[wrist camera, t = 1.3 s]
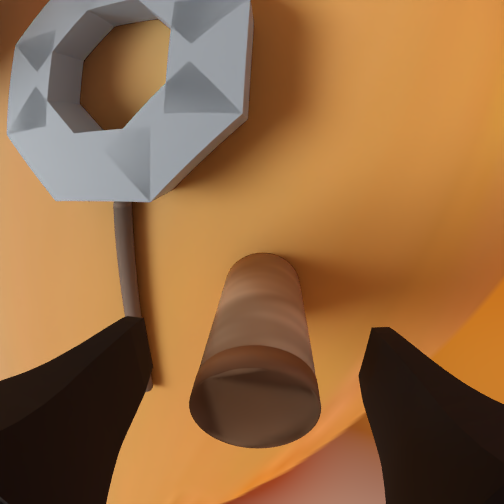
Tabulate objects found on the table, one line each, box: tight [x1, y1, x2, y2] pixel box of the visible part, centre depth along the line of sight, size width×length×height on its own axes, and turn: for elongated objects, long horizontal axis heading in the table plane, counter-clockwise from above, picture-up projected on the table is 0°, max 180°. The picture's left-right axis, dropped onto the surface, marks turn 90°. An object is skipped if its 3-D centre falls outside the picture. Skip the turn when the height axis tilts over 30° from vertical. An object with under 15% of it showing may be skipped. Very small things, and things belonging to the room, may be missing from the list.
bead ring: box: [7, 0, 254, 202], centre depth 9 cm, size 10×10×2 cm
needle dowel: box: [189, 253, 321, 448], centre depth 10 cm, size 3×3×7 cm
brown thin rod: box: [113, 201, 153, 392], centre depth 14 cm, size 11×1×1 cm, turn 177°
